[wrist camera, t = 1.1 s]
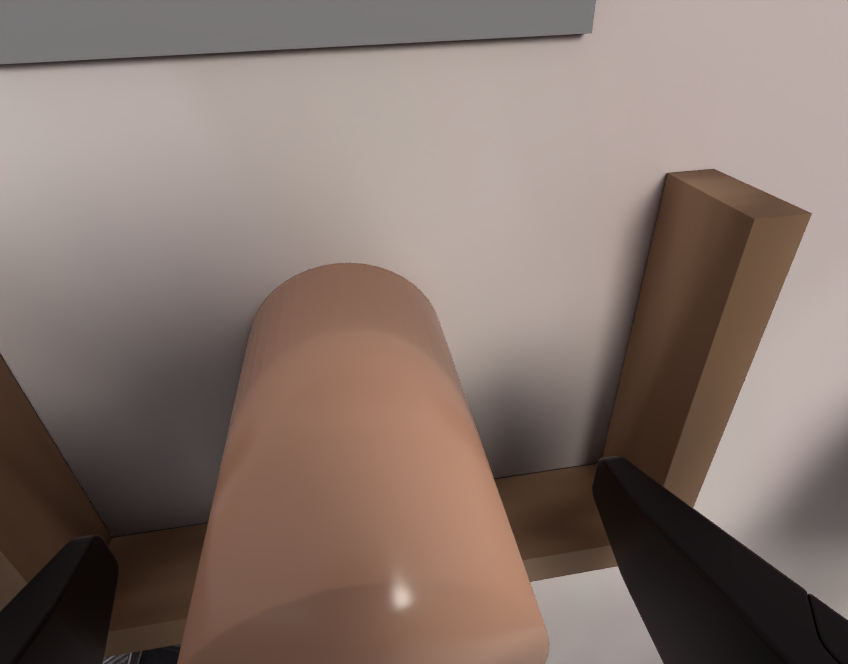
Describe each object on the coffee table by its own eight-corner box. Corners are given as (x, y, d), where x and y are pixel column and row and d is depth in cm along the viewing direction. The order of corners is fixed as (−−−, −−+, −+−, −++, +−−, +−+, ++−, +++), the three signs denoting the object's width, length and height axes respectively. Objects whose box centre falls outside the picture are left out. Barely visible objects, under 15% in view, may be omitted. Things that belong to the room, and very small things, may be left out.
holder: (714, 168, 12) (811, 213, 10) (627, 481, 19) (673, 556, 16) (-138, 243, 10) (-285, 322, 8) (86, 566, 16) (44, 667, 14)
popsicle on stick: (440, 253, 12) (570, 548, 6) (443, 464, 17) (522, 776, 10) (227, 274, 12) (105, 628, 5) (286, 488, 16) (259, 835, 9)
